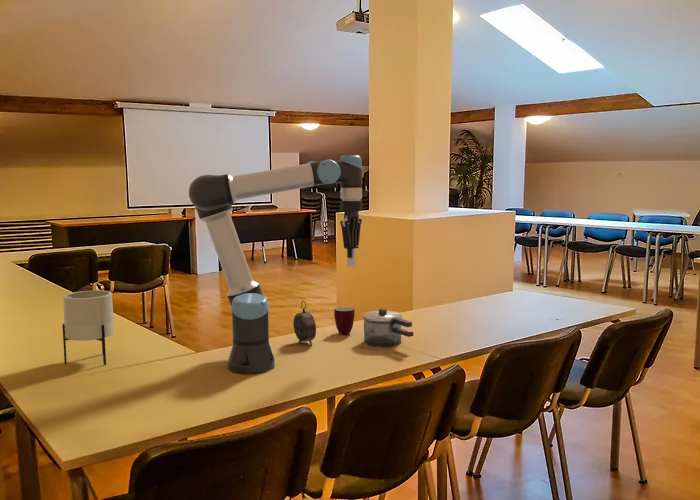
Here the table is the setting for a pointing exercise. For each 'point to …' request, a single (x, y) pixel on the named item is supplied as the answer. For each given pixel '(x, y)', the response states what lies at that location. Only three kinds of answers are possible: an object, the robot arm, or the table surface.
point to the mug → (344, 319)
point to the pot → (383, 334)
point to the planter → (88, 317)
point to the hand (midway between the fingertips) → (351, 266)
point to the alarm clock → (304, 326)
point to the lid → (386, 317)
